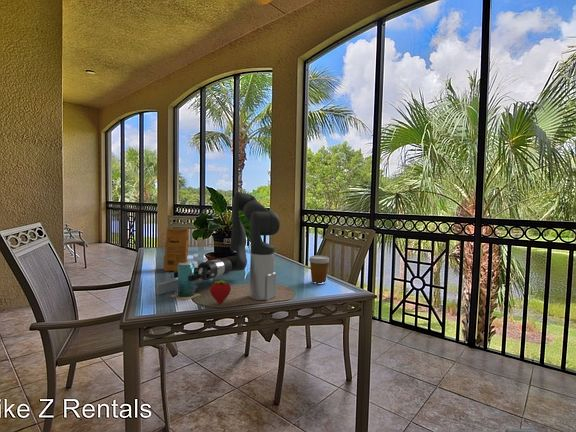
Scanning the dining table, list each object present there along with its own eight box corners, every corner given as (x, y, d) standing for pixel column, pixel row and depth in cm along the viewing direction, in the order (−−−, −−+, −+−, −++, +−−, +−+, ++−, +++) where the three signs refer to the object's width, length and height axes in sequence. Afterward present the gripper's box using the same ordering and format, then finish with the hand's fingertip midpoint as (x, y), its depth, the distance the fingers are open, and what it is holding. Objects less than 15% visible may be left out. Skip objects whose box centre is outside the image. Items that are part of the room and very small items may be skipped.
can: (197, 294, 127) (197, 262, 127) (185, 298, 122) (185, 265, 121) (186, 291, 130) (186, 261, 129) (174, 295, 125) (174, 263, 124)
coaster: (200, 295, 127) (201, 294, 127) (185, 300, 120) (185, 299, 120) (186, 291, 131) (186, 291, 131) (170, 296, 124) (170, 295, 124)
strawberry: (208, 302, 119) (208, 275, 118) (228, 300, 122) (228, 273, 121) (211, 307, 114) (211, 278, 113) (232, 304, 117) (232, 277, 116)
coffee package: (166, 267, 175) (166, 226, 174) (190, 267, 176) (190, 227, 175) (161, 271, 165) (161, 228, 164) (186, 272, 166) (186, 228, 165)
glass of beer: (318, 286, 145) (319, 259, 144) (304, 282, 152) (304, 256, 151) (333, 283, 151) (334, 257, 150) (318, 279, 158) (319, 254, 157)
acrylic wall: (202, 282, 147) (202, 273, 147) (158, 294, 126) (158, 284, 126) (200, 281, 148) (200, 272, 147) (156, 294, 126) (156, 284, 126)
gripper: (199, 258, 141) (169, 264, 127) (224, 262, 134) (196, 269, 120) (198, 275, 142) (168, 283, 127) (224, 280, 135) (196, 289, 121)
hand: (182, 276), depth 124 cm, fingers open, 8 cm apart
